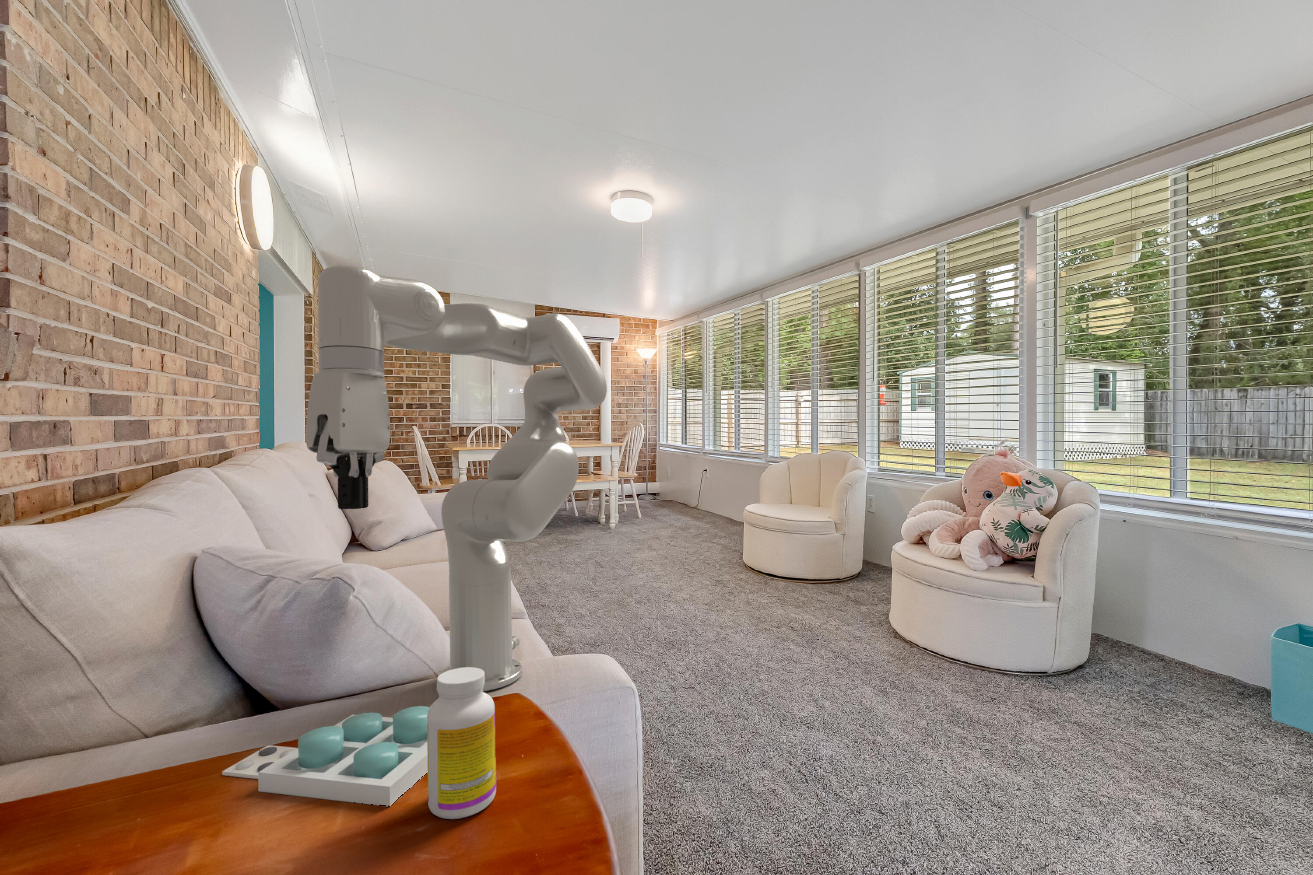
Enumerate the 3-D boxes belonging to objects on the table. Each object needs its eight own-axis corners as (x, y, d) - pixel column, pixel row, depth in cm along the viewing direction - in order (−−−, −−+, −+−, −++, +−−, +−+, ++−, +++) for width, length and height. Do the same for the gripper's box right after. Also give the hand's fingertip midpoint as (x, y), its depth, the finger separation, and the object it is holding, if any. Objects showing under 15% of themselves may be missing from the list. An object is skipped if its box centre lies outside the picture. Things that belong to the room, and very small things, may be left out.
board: (352, 729, 76) (352, 714, 76) (463, 739, 72) (463, 723, 73) (258, 791, 62) (258, 772, 62) (390, 806, 59) (389, 786, 59)
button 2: (359, 731, 74) (359, 711, 74) (389, 733, 73) (389, 713, 73) (333, 748, 70) (333, 727, 70) (365, 751, 69) (365, 730, 69)
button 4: (408, 725, 72) (408, 704, 73) (440, 727, 72) (439, 707, 72) (384, 742, 68) (384, 720, 68) (418, 745, 67) (417, 723, 67)
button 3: (372, 762, 66) (372, 740, 66) (406, 766, 65) (406, 743, 65) (344, 784, 62) (343, 760, 62) (380, 788, 61) (380, 764, 61)
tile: (268, 748, 71) (268, 743, 71) (309, 752, 70) (309, 747, 70) (222, 774, 66) (222, 769, 66) (266, 779, 64) (266, 774, 64)
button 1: (319, 746, 68) (319, 724, 68) (352, 749, 67) (352, 727, 67) (288, 766, 63) (288, 743, 63) (323, 769, 62) (322, 746, 62)
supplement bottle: (509, 799, 60) (507, 673, 60) (448, 831, 55) (446, 693, 55) (475, 776, 64) (473, 658, 64) (416, 803, 59) (414, 676, 60)
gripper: (367, 374, 83) (368, 503, 82) (278, 358, 68) (279, 514, 68) (413, 372, 81) (415, 503, 81) (333, 354, 67) (334, 514, 66)
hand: (353, 508), depth 74 cm, fingers closed
